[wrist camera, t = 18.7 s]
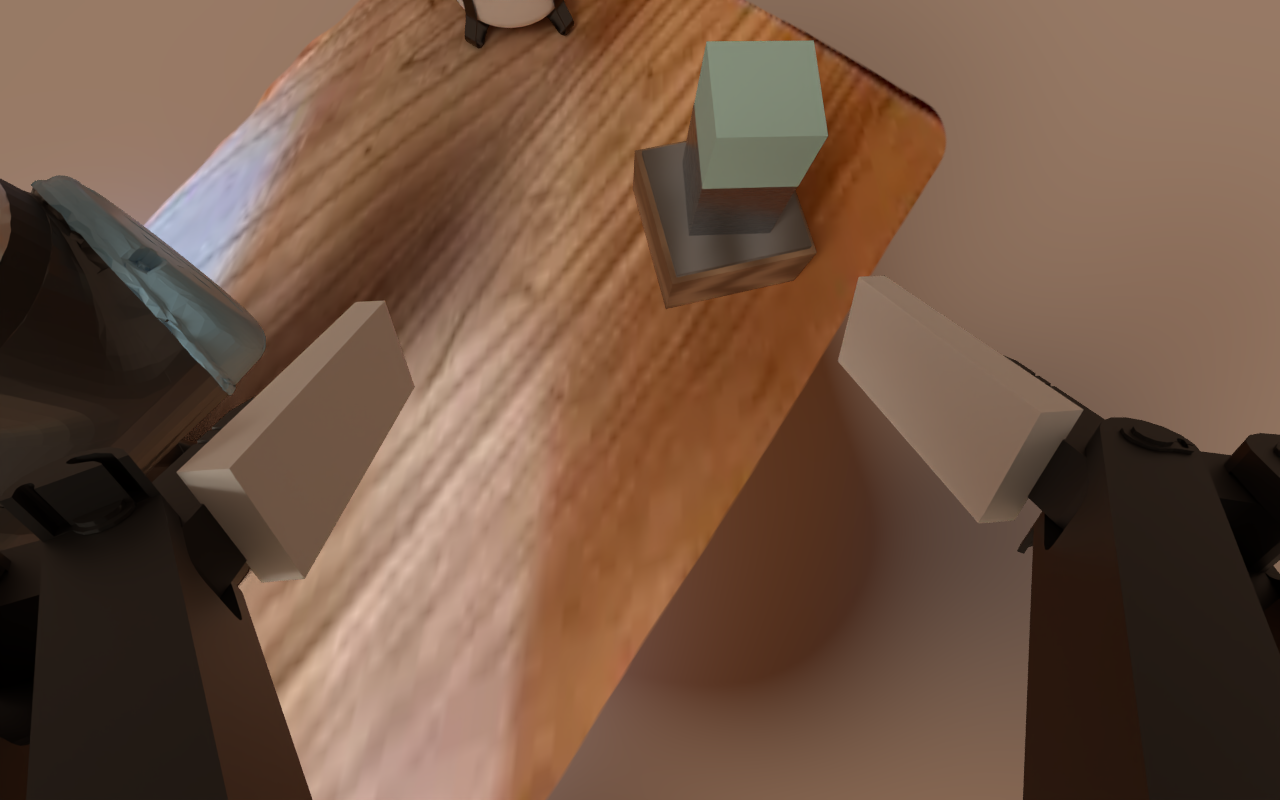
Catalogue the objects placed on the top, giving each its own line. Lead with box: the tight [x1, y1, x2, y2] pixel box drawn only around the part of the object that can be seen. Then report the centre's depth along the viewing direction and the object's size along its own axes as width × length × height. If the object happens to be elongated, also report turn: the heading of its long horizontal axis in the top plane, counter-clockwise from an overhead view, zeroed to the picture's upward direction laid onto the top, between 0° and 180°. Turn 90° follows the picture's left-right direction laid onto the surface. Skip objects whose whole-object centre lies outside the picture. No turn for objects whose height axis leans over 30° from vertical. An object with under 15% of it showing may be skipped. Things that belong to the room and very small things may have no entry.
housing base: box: [682, 106, 797, 236], centre depth 38 cm, size 7×7×6 cm
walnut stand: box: [633, 141, 817, 309], centre depth 44 cm, size 13×13×6 cm
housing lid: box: [694, 41, 828, 189], centre depth 32 cm, size 7×9×5 cm
